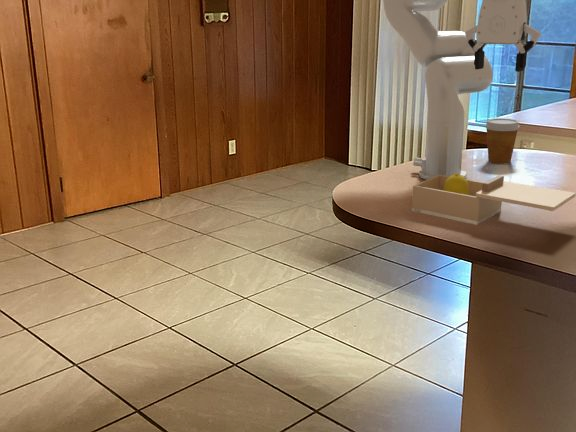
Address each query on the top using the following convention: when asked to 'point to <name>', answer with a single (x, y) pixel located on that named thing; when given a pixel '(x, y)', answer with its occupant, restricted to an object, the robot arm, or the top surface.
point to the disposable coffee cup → (501, 139)
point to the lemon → (456, 184)
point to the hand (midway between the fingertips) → (498, 70)
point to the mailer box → (453, 201)
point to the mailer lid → (523, 194)
